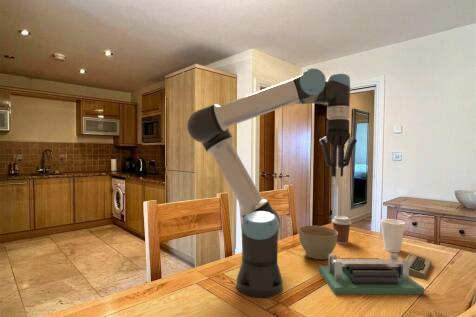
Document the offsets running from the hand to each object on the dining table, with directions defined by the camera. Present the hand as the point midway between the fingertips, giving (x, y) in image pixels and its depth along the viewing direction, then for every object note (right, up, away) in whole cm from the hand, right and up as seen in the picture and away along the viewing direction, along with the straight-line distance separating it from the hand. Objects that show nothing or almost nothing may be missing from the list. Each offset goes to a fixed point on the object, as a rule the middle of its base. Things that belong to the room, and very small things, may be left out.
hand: (336, 185), depth 96 cm
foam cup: (+35, -32, +26) cm, 54 cm away
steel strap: (+9, -27, -4) cm, 28 cm away
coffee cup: (+16, -32, +37) cm, 51 cm away
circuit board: (+9, -32, -4) cm, 34 cm away
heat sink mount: (+9, -32, -4) cm, 34 cm away
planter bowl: (-1, -32, +19) cm, 37 cm away
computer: (+33, -33, +7) cm, 47 cm away
